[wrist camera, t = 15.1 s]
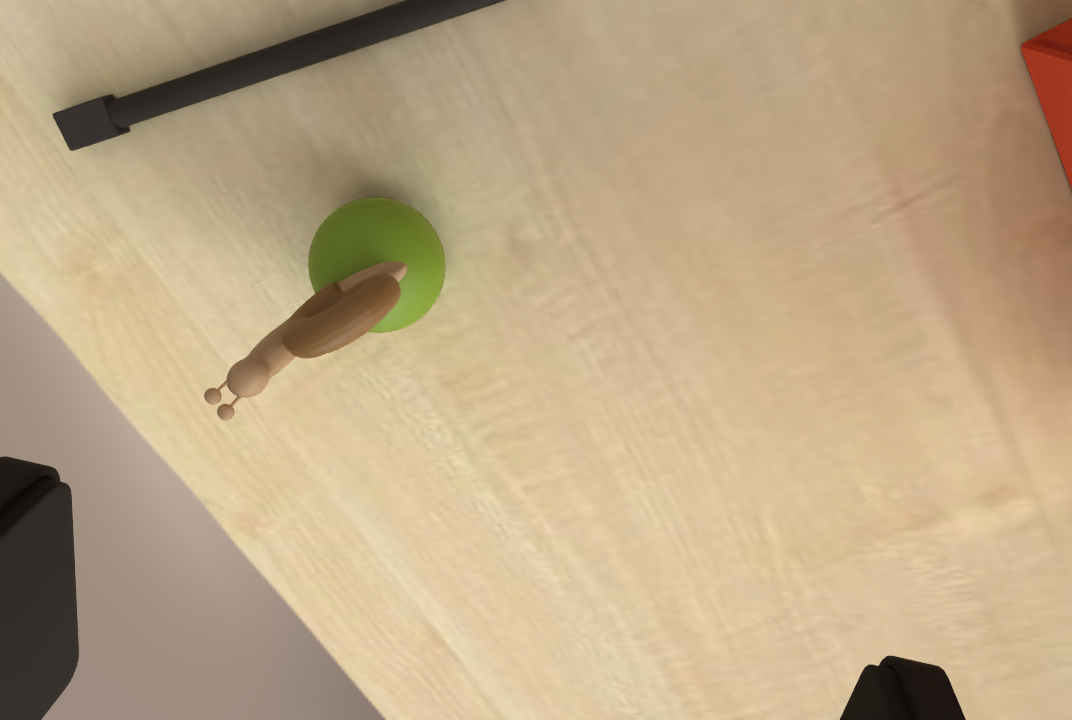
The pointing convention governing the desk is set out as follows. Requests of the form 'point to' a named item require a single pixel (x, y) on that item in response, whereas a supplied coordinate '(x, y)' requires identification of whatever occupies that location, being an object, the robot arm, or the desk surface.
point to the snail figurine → (350, 290)
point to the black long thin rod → (252, 69)
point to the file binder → (1054, 84)
